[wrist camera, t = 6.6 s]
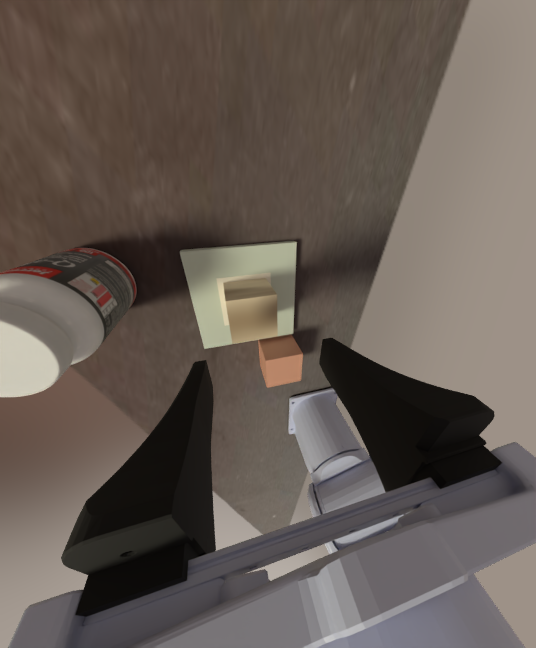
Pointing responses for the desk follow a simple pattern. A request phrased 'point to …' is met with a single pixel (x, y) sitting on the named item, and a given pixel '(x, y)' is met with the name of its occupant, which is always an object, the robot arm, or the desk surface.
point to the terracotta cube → (280, 360)
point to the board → (238, 265)
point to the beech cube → (251, 310)
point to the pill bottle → (58, 315)
